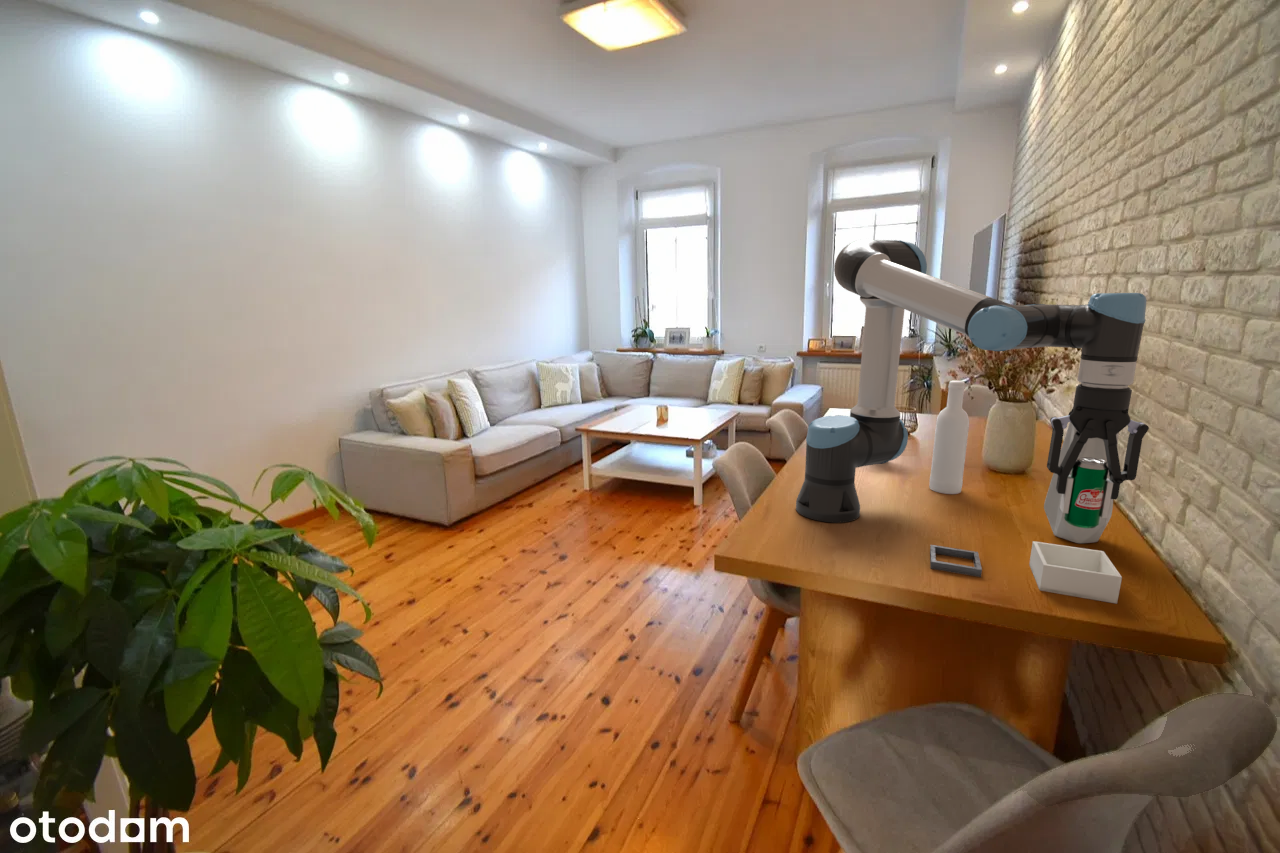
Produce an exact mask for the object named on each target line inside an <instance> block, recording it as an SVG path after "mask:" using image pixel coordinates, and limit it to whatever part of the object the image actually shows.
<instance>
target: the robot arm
mask: <svg viewBox="0 0 1280 853" xmlns="http://www.w3.org/2000/svg"><path fill="white" fill-rule="evenodd" d="M833 268H834V269H833V271H834V277H835V279H836V281H837V283H838V285H840V287H842V288H844V290H846V291H848V292H851V293H854V294H856V295H857V296H859V300H860V302H861V303H862V304H863V305H864V306H865V316H864V325H863V326H864V327H863V337H862V338H863V339H862V349H861V360H860V370H859V371H860V372H859V381H858V382H859V383H858V392H857V393H858V394H857V403H856V405H854V406H853V407H852V408H850V413H849V415H839V414H838V415H826V416H822V417H818V418H815V419H814V420H812V421H811V422H810V424H809V425H808V427H807V434H806V437H805V442H806V444H805V445H806V446H805V447H806V448H805V469H804V472H805V473H804V480H803V482H802V485H801V487H800V490H799V492H798V495H797V497H796V500H795V501H796V503H795V511H796V512H797V513H798V514H799V515H801V516H803V517H804V518H808V519H810V520H814V521H818V522H824V523H825V522H826V523H836V524H837V523H847V522H852V521H854V520H855V521H856V520H857V519H858V518H860V516H861V515H860V513H861V504H860V503H861V502H860V501H859V496H858V493H857V489H856V485H855V482H856V481H855V477H856V469H857V468H861V467H867V466H871V465H872V466H873V465H881V464H885V463H888V462H890V461H893V460H895V459H898V458H899V457H900V456H901V455H902V454H903V453H904V452H905V450H906V448H907V445H908V442H909V433H908V432H909V431H908V430H907V427H905V422H903V420H902V419H901V412H900V411H899V410H898V409H897V407H896V406H895V402H896V396H897V395H896V394H897V384H898V374H899V366H900V356H901V355H900V354H901V348H902V346H901V344H902V336H903V327H904V318H905V311H908V312H910V313H913V314H914V315H915V314H916V315H917V316H920V317H922V318H924V319H927V320H929V321H932V322H934V323H936V324H938V325H941V326H943V327H945V328H947V329H950V330H953V331H955V332H958V333H960V334H962V335H965V336H967V337H968V338H969V339H970V341H971V343H972V344H973V345H974V346H975V347H976V348H978V349H981V350H984V351H991V352H992V351H993V352H1004V351H1010V350H1019V349H1030V348H1033V349H1034V348H1046V347H1050V348H1051V347H1053V348H1071V349H1081V354H1080V355H1081V356H1080V361H1079V367H1078V373H1077V382H1079V383H1080V384H1078V385H1076V387H1075V394H1074V398H1073V399H1074V400H1073V406H1072V409H1071V410H1070V412H1069V413H1068V414H1067V415H1064V416H1058V417H1057V416H1051V417H1050V419H1049V420H1050V425H1051V428H1052V431H1051V432H1052V433H1051V438H1050V445H1049V450H1048V455H1047V462H1046V468H1047V470H1048V471H1049V472H1050V473H1051V474H1052V473H1053V474H1054V473H1055V474H1057V475H1058V478H1057V485H1056V490H1057V492H1058V493H1060V494H1062V497H1061V503H1060V509H1061V511H1062V512H1063V513H1068V510H1069V504H1070V498H1071V491H1072V485H1073V478H1072V477H1071V475H1069V474H1070V472H1071V470H1072V468H1073V466H1074V464H1075V462H1076V460H1077V458H1078V456H1079V454H1080V452H1081V450H1082V448H1083V446H1084V444H1085V443H1086V442H1087V440H1088V438H1100V439H1103V441H1104V445H1105V451H1106V458H1107V464H1108V468H1109V470H1108V471H1109V476H1110V479H1108V478H1107V481H1106V487H1105V493H1104V498H1103V504H1102V510H1101V517H1102V518H1107V516H1108V511H1109V505H1110V499H1113V500H1117V499H1118V498H1119V493H1120V487H1121V484H1123V483H1124V482H1126V481H1134V480H1136V478H1137V473H1138V467H1139V461H1140V456H1141V455H1140V454H1141V450H1142V444H1143V438H1144V437H1145V435H1146V434H1147V433H1148V431H1149V429H1150V427H1149V425H1147V424H1146V423H1144V422H1142V421H1135V420H1133V419H1131V417H1130V414H1129V410H1130V404H1131V399H1132V397H1131V396H1132V392H1133V390H1132V389H1131V388H1130V387H1129V386H1131V385H1133V384H1134V381H1135V374H1136V369H1137V368H1136V367H1137V362H1138V358H1139V357H1138V356H1139V350H1140V345H1141V341H1142V336H1143V335H1142V334H1143V330H1144V327H1145V326H1144V325H1145V324H1146V321H1147V320H1146V311H1147V302H1148V301H1147V297H1146V295H1145V294H1142V293H1141V292H1112V293H1111V292H1108V293H1106V292H1105V293H1104V292H1101V293H1100V292H1099V293H1098V292H1097V293H1093V294H1092V295H1091V296H1090V298H1089V300H1088V302H1087V304H1045V303H1034V304H1025V305H1024V304H1022V305H1020V304H1018V305H1015V304H1010V303H1009V302H1006V301H1002V300H999V299H996V298H994V297H991V296H988V295H985V294H983V293H980V292H978V291H974V290H971V289H968V288H965V287H963V286H960V285H958V284H954V283H952V282H949V281H946V280H944V279H942V278H941V279H940V278H938V277H935V276H932V275H929V274H927V272H928V270H927V269H928V267H927V259H926V256H925V254H924V252H923V250H921V249H920V247H919V246H918V245H916V244H915V243H912V242H909V241H904V240H897V239H895V240H894V239H893V240H892V239H891V240H889V239H888V240H886V239H883V240H882V239H869V238H868V239H867V238H866V239H858V240H855V241H852V242H849V243H848V244H847V245H846V246H844V247H842V249H841V250H840V252H839V253H838V255H837V256H836V259H835V262H834V267H833ZM1070 422H1071V423H1072V424H1073V426H1074V427H1075V429H1076V430H1077V431H1076V433H1075V435H1074V438H1073V441H1072V443H1071V445H1070V447H1069V449H1068V451H1067V453H1066V455H1065V457H1064V459H1063V461H1062V463H1061V465H1060V467H1059V466H1058V464H1059V458H1060V452H1061V448H1062V445H1063V441H1064V430H1065V429H1067V428H1068V425H1069V423H1070ZM1126 427H1127V431H1128V432H1129V435H1128V439H1127V445H1126V449H1125V450H1126V451H1125V455H1124V463H1123V469H1121V464H1120V458H1119V450H1118V447H1117V438H1116V434H1117V433H1119V434H1120V432H1121V431H1123V429H1125V428H1126Z"/></svg>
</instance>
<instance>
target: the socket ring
mask: <svg viewBox="0 0 1280 853" xmlns="http://www.w3.org/2000/svg"><path fill="white" fill-rule="evenodd" d="M929 547H930V548H929V562H930V563H929V564H930V570H931V569H932V570H936V571H937V570H938V571H943V572H949V573H955V574H961V575H965V576H971V577H972V576H973V577H977V578H982V572H983V568H982V565H981V560H980V555H979V552H978V551H974V550H968V549H961V548H957V547H956V548H954V547H948V546H942V545H936V544H930V546H929ZM936 555H943V556H949V557H954V558H959V559H960V558H961V559H965V560H966V559H967V560H972V561H973V562H972V563H973V566H970V565H966V564H965V565H964V564H959V563H958V564H957V563H953V562H945V561H941V560H937V559H936V558H937V556H936Z"/></svg>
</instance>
